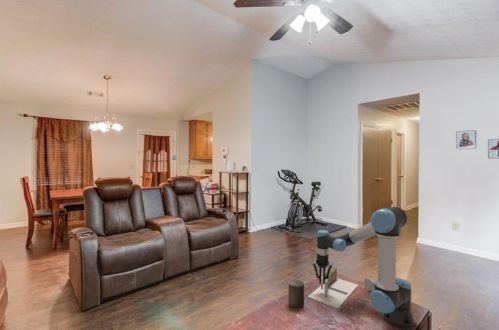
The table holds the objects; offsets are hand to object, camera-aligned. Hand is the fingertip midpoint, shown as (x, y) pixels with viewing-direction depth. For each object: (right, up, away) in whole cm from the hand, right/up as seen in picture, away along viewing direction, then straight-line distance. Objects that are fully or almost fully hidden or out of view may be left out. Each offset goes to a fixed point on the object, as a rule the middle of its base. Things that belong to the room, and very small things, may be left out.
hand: (321, 288), depth 172 cm
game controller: (+36, -4, +1) cm, 36 cm away
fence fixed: (+11, -3, +14) cm, 18 cm away
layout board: (+10, -4, +4) cm, 11 cm away
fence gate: (+3, -3, 0) cm, 4 cm away
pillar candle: (-20, -4, -12) cm, 24 cm away
